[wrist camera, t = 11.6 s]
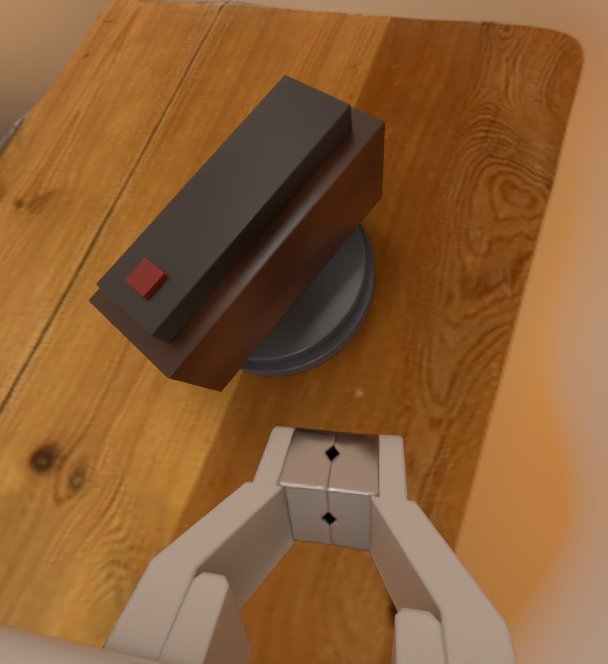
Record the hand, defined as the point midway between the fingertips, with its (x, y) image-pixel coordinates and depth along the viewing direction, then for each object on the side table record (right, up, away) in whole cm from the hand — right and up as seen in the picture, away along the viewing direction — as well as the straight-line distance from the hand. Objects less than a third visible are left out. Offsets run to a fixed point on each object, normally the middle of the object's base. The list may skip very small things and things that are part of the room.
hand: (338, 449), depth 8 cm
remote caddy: (-3, +6, +12) cm, 14 cm away
